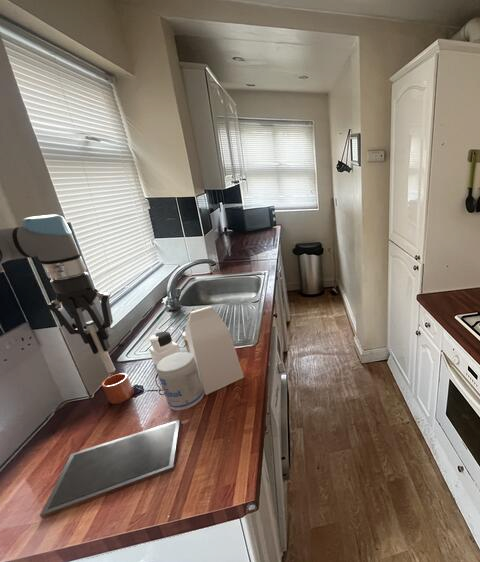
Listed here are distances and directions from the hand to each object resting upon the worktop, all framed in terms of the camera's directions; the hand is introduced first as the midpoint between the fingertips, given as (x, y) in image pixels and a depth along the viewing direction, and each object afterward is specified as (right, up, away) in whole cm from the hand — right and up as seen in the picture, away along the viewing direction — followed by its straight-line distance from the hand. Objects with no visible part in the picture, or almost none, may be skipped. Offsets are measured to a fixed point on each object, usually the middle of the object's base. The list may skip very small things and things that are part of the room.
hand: (102, 350), depth 89 cm
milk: (+27, -13, +15) cm, 33 cm away
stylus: (0, -7, +3) cm, 8 cm away
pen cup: (0, -17, +7) cm, 18 cm away
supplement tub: (+22, -17, +5) cm, 28 cm away
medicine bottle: (+4, -10, +23) cm, 26 cm away
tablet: (+18, -25, -14) cm, 33 cm away
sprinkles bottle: (+16, -10, +22) cm, 29 cm away
